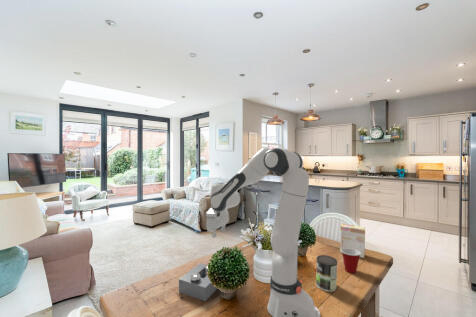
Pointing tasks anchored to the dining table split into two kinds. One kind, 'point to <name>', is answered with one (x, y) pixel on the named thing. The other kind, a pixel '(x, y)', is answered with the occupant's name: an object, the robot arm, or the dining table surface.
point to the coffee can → (326, 273)
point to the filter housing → (197, 284)
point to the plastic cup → (350, 259)
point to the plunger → (195, 277)
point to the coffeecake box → (353, 238)
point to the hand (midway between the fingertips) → (218, 234)
